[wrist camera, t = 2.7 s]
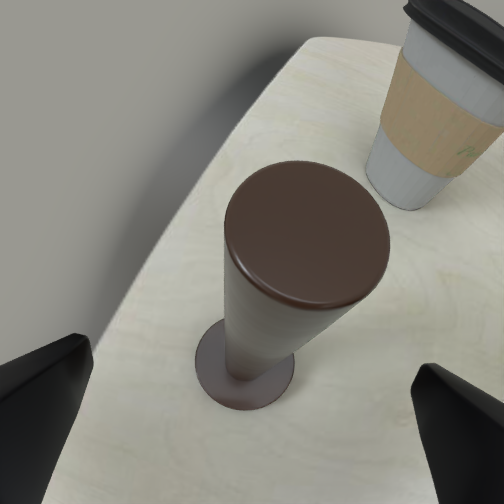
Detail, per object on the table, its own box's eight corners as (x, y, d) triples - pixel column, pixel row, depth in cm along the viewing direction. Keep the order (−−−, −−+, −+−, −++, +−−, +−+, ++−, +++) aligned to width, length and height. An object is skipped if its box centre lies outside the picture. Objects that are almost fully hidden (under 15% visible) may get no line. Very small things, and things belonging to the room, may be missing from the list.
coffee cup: (435, 252, 20) (573, 104, 7) (325, 186, 22) (402, -16, 8) (450, 174, 24) (535, 50, 11) (363, 122, 26) (419, -23, 12)
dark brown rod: (296, 403, 15) (514, 385, 3) (201, 413, 15) (93, 472, 2) (284, 314, 17) (406, 105, 5) (193, 322, 17) (121, 101, 4)
